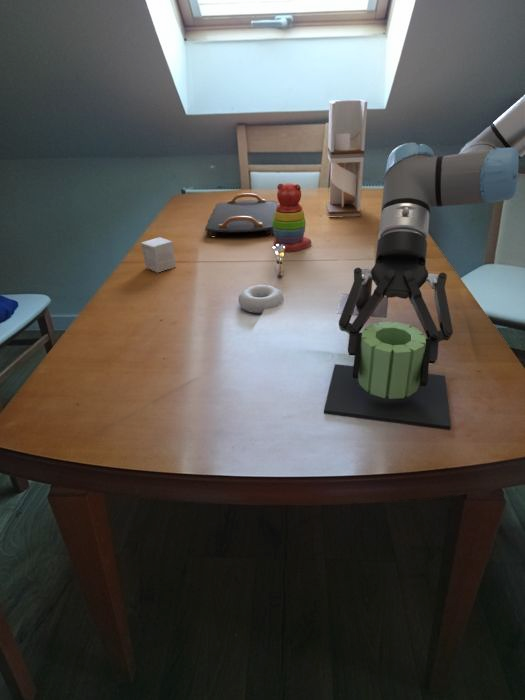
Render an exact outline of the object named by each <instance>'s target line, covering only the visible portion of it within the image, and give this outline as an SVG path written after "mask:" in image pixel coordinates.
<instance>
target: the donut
mask: <svg viewBox="0 0 525 700" xmlns="http://www.w3.org/2000/svg"><path fill="white" fill-rule="evenodd" d="M282 303H284V294H283V292H282V291H281V290H280V289H279V288H277V287H275V286H272V285H267V284H266V285H265V284H257V285H252V286H249V287H246V288H245V289H243V290H241V292H240V293H239V295H238V304H239V305H240V306H239V307H240V308H242V310H244V311H246V312H250V313H255V314H263V313H264V311H265V310H269V309H273V308H276V307H278V306H280V305H281V304H282Z"/></svg>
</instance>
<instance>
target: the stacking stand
mask: <svg viewBox="0 0 525 700" xmlns="http://www.w3.org/2000/svg"><path fill="white" fill-rule="evenodd" d="M361 270H372V268H371V269H370V268H361ZM372 290H373V279H372V278H369V279H368V280H367V283H366V284H364V285H362V289H361V292H360V295H359V298H358V300H357V303H356V306H355V308H354V311H353V314H352V316H358V315H359V313H360V312H361V310H362V309H363V307H364V306H365V304H366V303H367V301H368V300H369V299H370V297H371V296H372ZM348 296H349V293H341V296H340V299H339V303H338V305H337V310H336V315H342V312H343V309H344V307H345V304H346V301H347V299H348ZM388 303H389V297H386V296H384V298H383V299H382V301H381V302H380V303H379V304H378V306H377V307H376V308H375V310H374V311H373V313H372V314H371V316H370V318H371V317H373V318H384V319H386V318H387V316H388V305H389V304H388Z"/></svg>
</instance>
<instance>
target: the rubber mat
mask: <svg viewBox="0 0 525 700" xmlns="http://www.w3.org/2000/svg"><path fill="white" fill-rule="evenodd" d="M353 366H354V365H348V364H347V365H346V364H339V363H338V364H336V363H335V364H334V367H333V370H332V375H331V378H330V383H329V387H328V391H327V395H326V399H325V402H324V404H325V405H324V408H323V414H327V413H328V414H329V415H335V416H342V417H343V416H344V417H350V418H359V419H365V420H373V421H380V422H381V421H382V422H389V423H396V424H405V425H412V426H419V427H420V426H421V427H427V428H436V429H442V430H451V428H452V425H451V413H450V406H449V399H448V390H447V381H446V375H444V374H435V373H428V382H427V384H426V386H420V383H419V388H418V389H417V391H416V392H414V393H413V394H411V395H410V396H408V397H407V396H405V397H404V398H395V399H389V398H388V395H387V396H386V397H385V398H382V397H379V396H376V395H373V394H370V391H368V392H367V391H366V390H365V389H364V388H363V387H362V386H361V385H360V384H359V382H358V379H356V378H353ZM358 375H359V374H358Z"/></svg>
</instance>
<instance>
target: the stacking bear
mask: <svg viewBox="0 0 525 700" xmlns="http://www.w3.org/2000/svg"><path fill="white" fill-rule="evenodd" d="M276 189H277V193H276V197H277V202H278V205H277V207H276V210H275V213H274V218H273V229H272V230H273V236H274V241H273V247H274V246H276V244H277V245H278V243H279V246H281V244H283V246H285V249H284V253H285V252H287V253H289V252H290V253H291V252H298V251H302V250H304V249H306V248H308V247H310V246H311V245H312V240H311V239H310V238H309V237H306V236H304V235H305V232H306V224H307V223H306V217H305V212H304V209H303V207H302V205H301V204H300V201H301V199H302V190H301V189H302V188H301V185H299V184H297V183H296V184H294V183H284V184H283V183H279V184H277V188H276ZM282 249H283V248H282Z"/></svg>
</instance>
